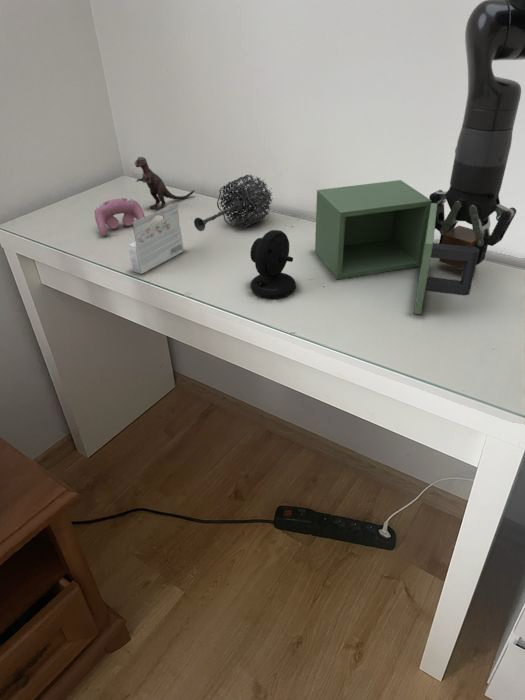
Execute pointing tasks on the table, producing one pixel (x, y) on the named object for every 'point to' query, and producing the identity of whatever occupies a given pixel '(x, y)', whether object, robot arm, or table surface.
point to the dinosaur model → (156, 185)
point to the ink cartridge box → (156, 239)
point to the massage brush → (241, 202)
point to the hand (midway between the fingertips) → (459, 258)
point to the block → (458, 242)
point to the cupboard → (370, 228)
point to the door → (444, 252)
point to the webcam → (272, 265)
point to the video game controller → (116, 207)
